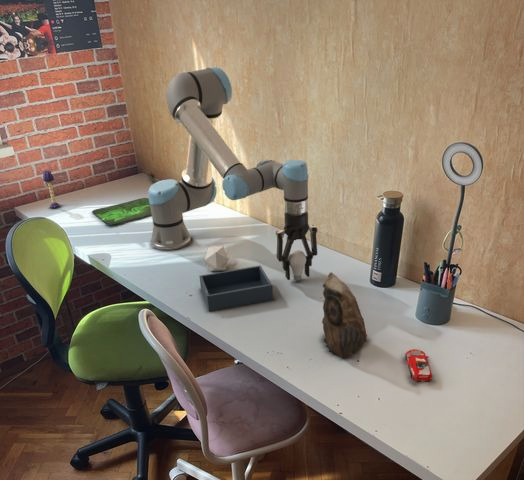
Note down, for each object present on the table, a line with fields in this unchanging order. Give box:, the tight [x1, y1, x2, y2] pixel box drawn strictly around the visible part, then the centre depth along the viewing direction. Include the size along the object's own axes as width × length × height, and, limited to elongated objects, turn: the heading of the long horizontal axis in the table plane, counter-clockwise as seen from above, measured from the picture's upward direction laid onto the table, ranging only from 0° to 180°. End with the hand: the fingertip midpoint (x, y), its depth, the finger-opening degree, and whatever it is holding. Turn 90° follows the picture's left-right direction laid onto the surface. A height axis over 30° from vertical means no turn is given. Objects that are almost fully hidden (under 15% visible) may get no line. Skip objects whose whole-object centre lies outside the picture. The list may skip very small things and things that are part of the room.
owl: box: [321, 271, 368, 359], centre depth 156 cm, size 13×13×20 cm
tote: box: [198, 265, 274, 312], centre depth 186 cm, size 15×21×6 cm
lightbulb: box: [288, 249, 307, 282], centre depth 190 cm, size 6×6×11 cm
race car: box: [404, 348, 433, 384], centre depth 149 cm, size 13×5×4 cm, turn 177°
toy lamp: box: [42, 169, 61, 210], centre depth 257 cm, size 5×5×17 cm
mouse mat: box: [91, 197, 152, 226], centre depth 252 cm, size 27×22×1 cm
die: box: [204, 246, 230, 272], centre depth 201 cm, size 8×9×10 cm
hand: (297, 276), depth 192 cm, fingers closed on lightbulb, 6 cm apart
